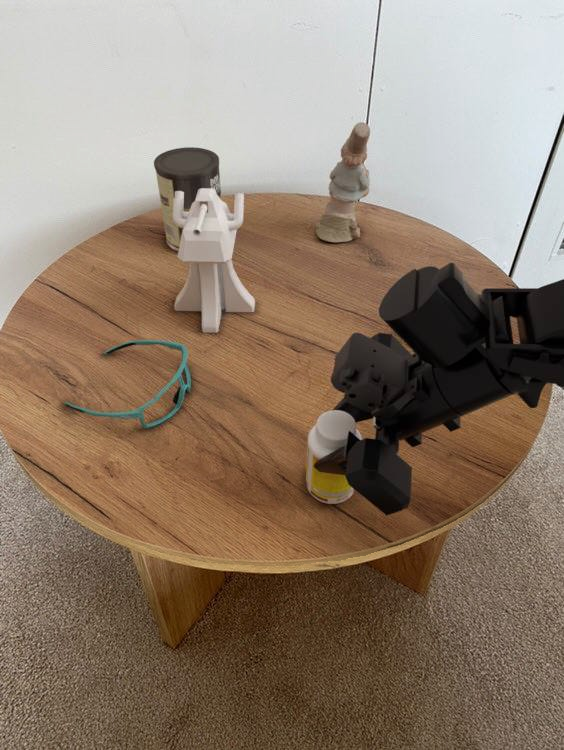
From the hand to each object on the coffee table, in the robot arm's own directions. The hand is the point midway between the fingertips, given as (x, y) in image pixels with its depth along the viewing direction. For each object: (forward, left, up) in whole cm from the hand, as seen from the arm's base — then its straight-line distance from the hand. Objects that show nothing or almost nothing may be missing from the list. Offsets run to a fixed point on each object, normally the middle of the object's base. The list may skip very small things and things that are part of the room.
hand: (321, 445), depth 60 cm
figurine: (+14, -52, -7) cm, 54 cm away
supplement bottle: (-1, 0, -7) cm, 7 cm away
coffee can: (+37, -41, -7) cm, 56 cm away
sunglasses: (+27, -5, -7) cm, 28 cm away
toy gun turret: (+25, -24, -7) cm, 35 cm away
